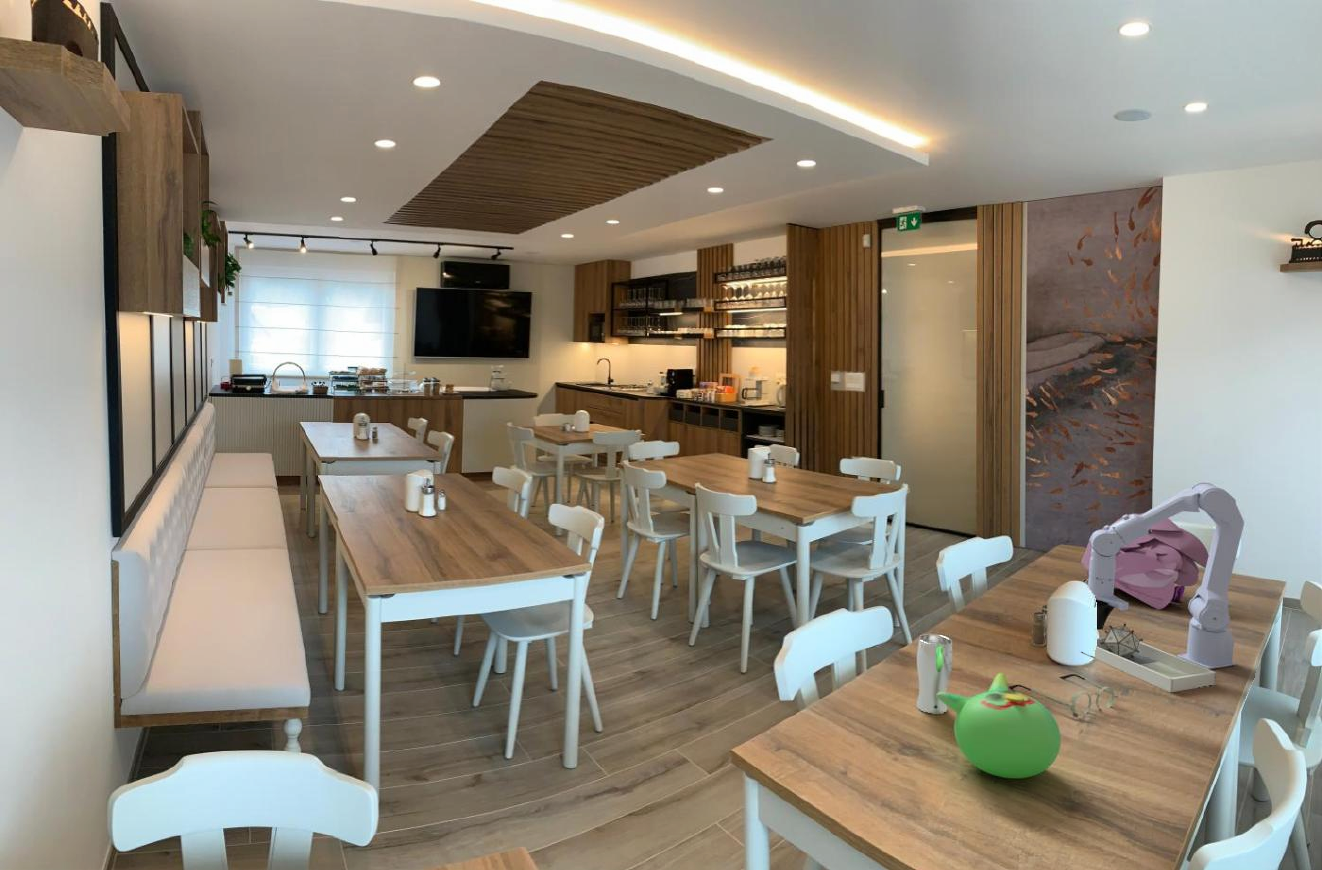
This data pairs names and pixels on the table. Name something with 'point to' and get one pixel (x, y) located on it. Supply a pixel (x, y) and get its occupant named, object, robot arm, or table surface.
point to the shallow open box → (1158, 668)
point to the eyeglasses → (1076, 695)
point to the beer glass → (933, 671)
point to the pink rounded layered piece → (1157, 564)
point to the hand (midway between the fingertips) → (1097, 628)
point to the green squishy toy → (1004, 731)
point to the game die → (1121, 641)
